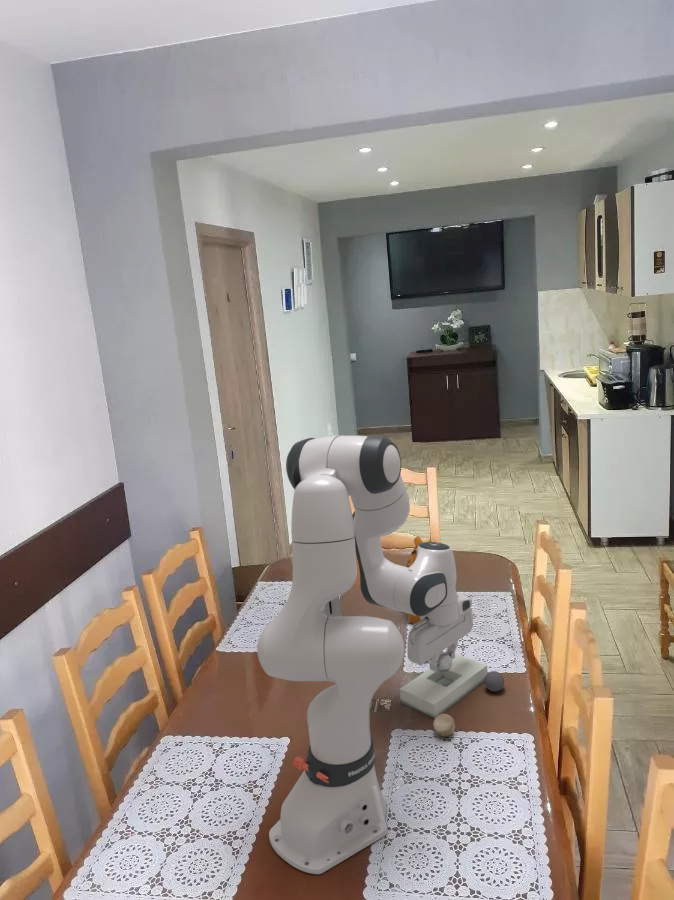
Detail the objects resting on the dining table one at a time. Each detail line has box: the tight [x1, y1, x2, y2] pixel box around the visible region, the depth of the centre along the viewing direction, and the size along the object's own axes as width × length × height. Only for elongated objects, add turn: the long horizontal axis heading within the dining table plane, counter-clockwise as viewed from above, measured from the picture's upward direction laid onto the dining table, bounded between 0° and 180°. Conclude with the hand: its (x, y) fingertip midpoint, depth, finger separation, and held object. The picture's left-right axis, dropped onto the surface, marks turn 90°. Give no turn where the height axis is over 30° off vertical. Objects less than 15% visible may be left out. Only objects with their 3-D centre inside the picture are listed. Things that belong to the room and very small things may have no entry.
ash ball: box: [432, 713, 456, 737], centre depth 152 cm, size 4×4×4 cm
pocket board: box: [399, 652, 488, 719], centre depth 168 cm, size 20×10×4 cm, turn 134°
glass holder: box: [325, 596, 343, 617], centre depth 205 cm, size 9×14×15 cm, turn 174°
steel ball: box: [435, 651, 452, 672], centre depth 167 cm, size 4×4×4 cm
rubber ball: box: [483, 670, 505, 693], centre depth 166 cm, size 4×4×4 cm
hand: (442, 664), depth 167 cm, fingers closed on steel ball, 4 cm apart
